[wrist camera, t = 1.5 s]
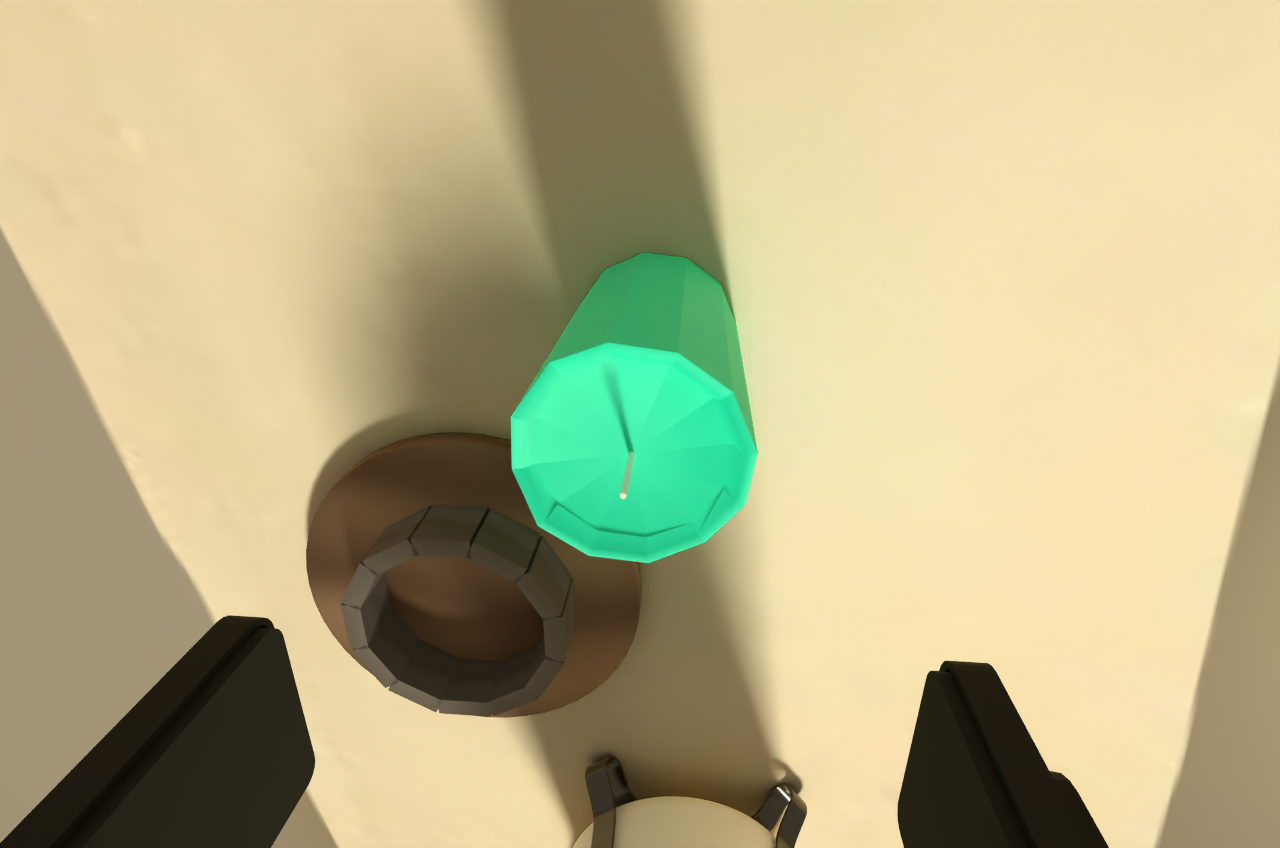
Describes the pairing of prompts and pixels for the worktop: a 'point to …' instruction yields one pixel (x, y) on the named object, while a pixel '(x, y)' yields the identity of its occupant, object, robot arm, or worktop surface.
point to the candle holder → (464, 583)
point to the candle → (639, 416)
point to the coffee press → (682, 817)
